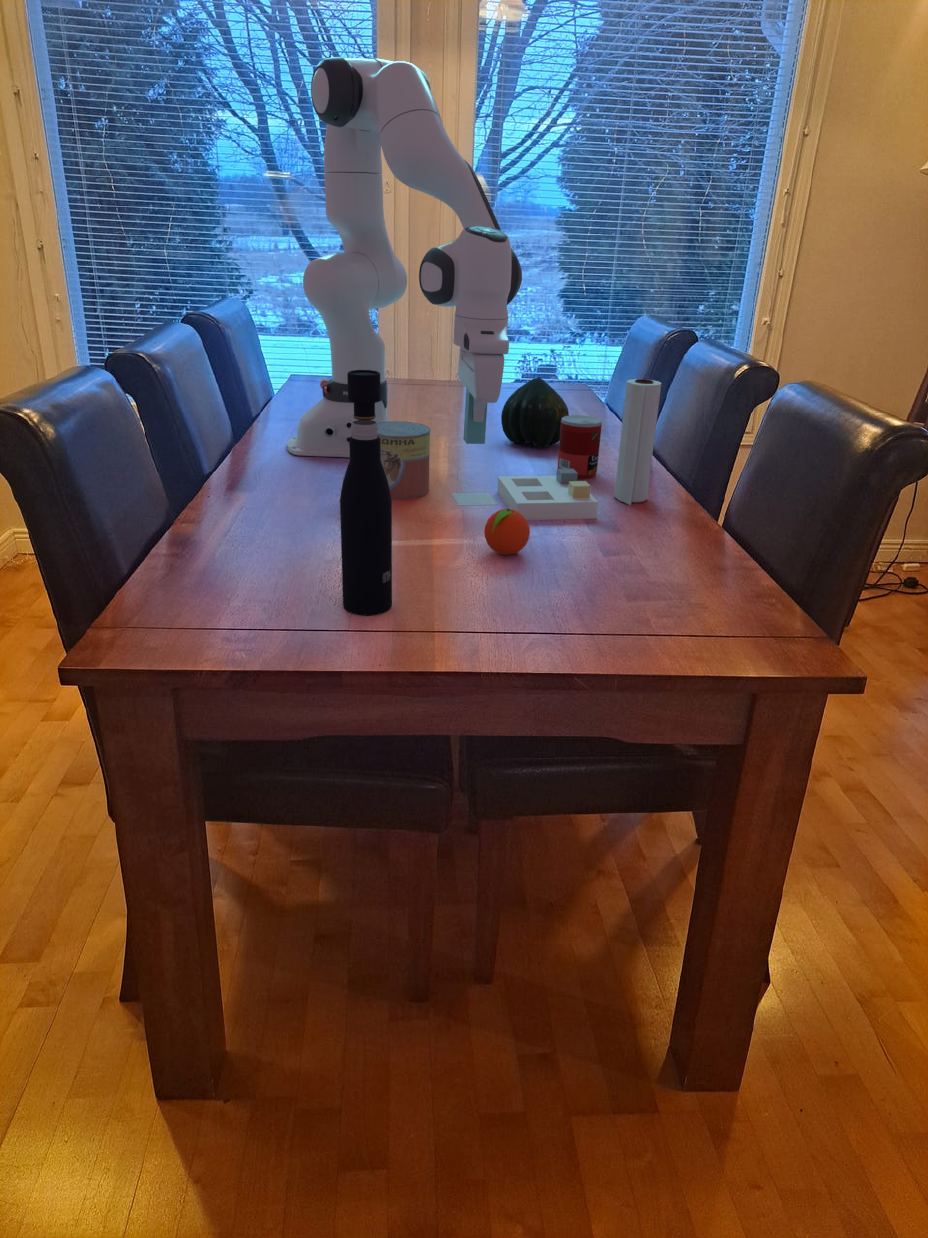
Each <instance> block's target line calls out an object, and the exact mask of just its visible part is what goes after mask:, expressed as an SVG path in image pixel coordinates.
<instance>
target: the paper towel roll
mask: <svg viewBox="0 0 928 1238" xmlns="http://www.w3.org/2000/svg"><path fill="white" fill-rule="evenodd" d="M625 385H626V386H625V396H624V404H623V414H622V415H623V416H622V424H621V431H620V432H621V433H620V440H619V449H618V459H617V467H616V468H617V470H616V479H615V486H614V487H615V488H614V498H616V499H617V500H618V501H619V502H623V503H625V504H627V505H629V506H632V503H642V502H645V501H646V500H648V495H649V494H648V493H649V485H650V479H651V478H650V476H651V469H652V468H651V467H652V463H653V455H654V453H653V452H654V447H655V446H654V444H655V437H656V429H657V423H658V414H659V405H660V396H661V391H662V390H661V389H662V382H661V381H659V380H654V379H644V378H634V379H627V380H626V384H625Z"/></svg>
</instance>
